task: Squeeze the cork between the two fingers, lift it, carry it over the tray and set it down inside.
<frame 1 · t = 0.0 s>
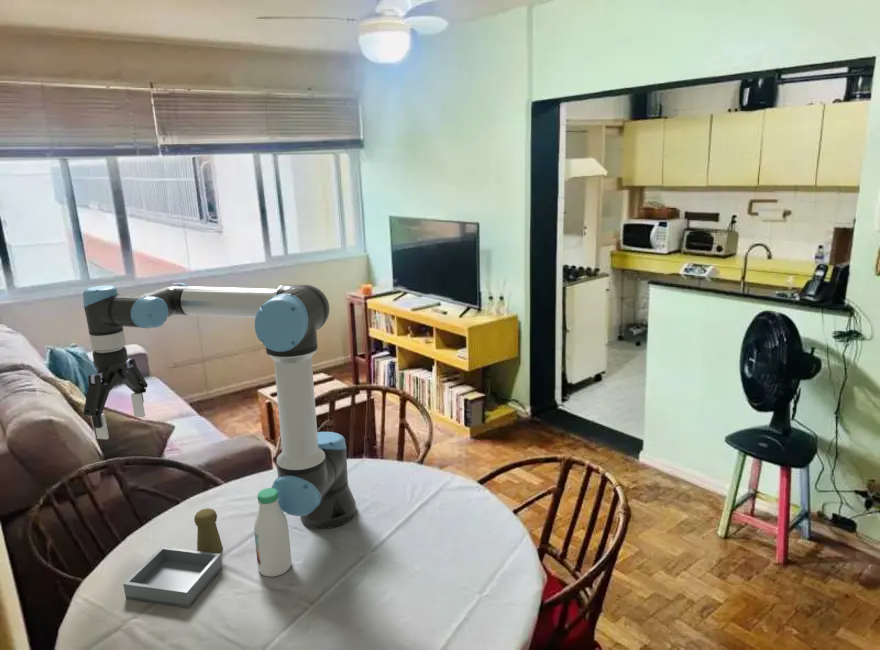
hand: (122, 427, 157), 28 cm above the table, tool pointing down, fingers open, 13 cm apart
cork: (210, 551, 152), on the table
tray: (175, 583, 140), on the table
milk bottle: (275, 567, 145), on the table
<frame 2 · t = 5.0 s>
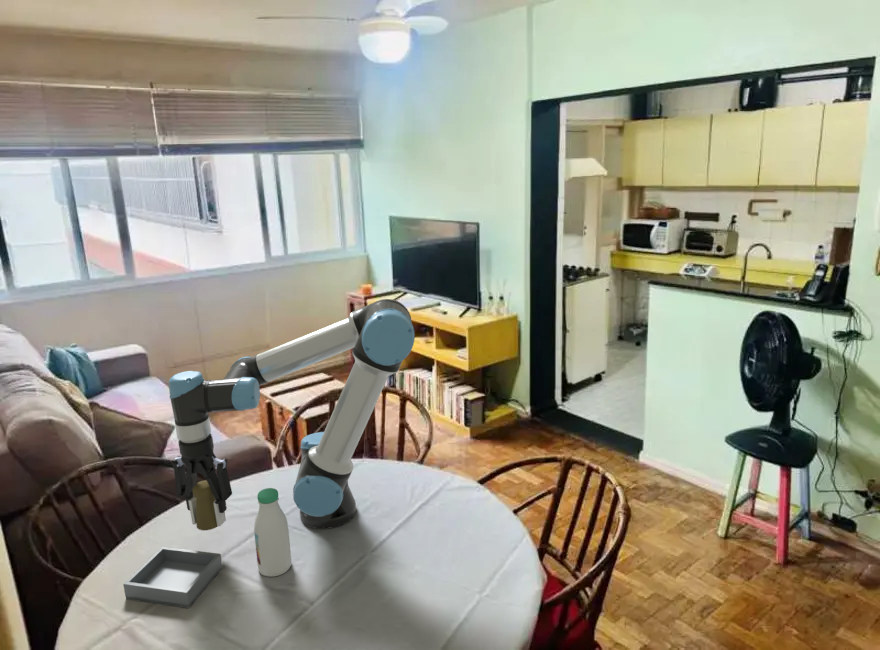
hand: (209, 522, 150), 8 cm above the table, tool pointing down, fingers closed on cork, 6 cm apart
cork: (209, 523, 150), point 8 cm above the table, touching gripper
everything else where it was.
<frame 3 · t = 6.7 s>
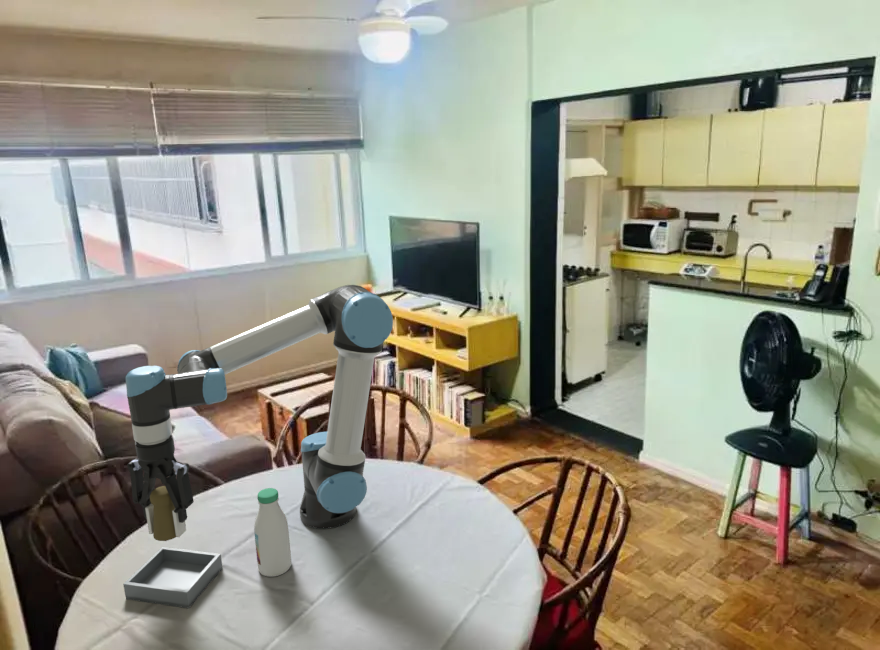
hand: (167, 531, 137), 14 cm above the table, tool pointing down, fingers closed on cork, 6 cm apart
cork: (168, 533, 137), point 13 cm above the table, touching gripper
everything else where it was.
when the fingers open (3 cm above the table, at t = 8.8 s): cork drops 2 cm, resting on tray.
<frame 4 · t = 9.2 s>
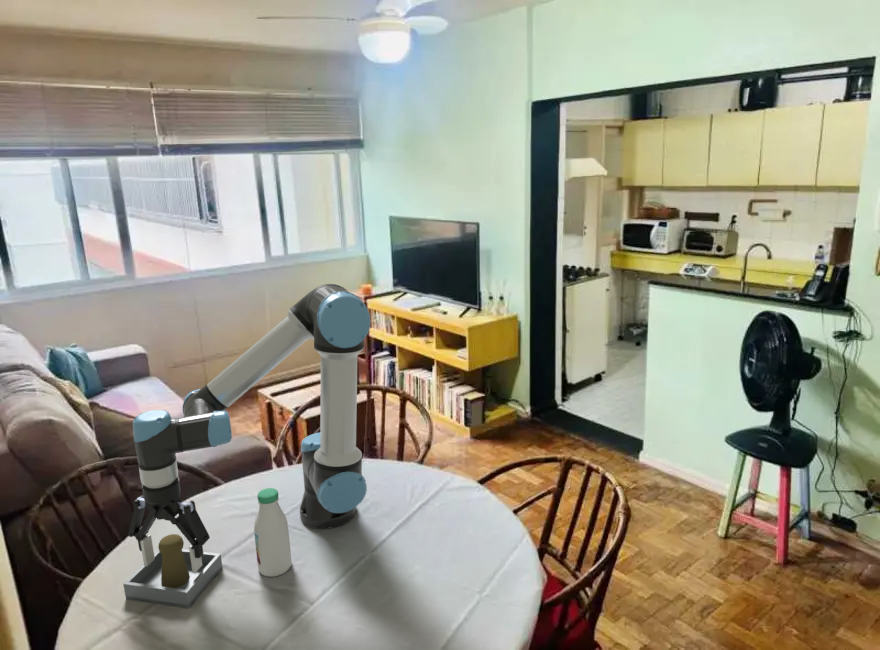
hand: (173, 565, 139), 5 cm above the table, tool pointing down, fingers open, 11 cm apart
cork: (175, 580, 140), point 1 cm above the table, touching tray
everything else where it was.
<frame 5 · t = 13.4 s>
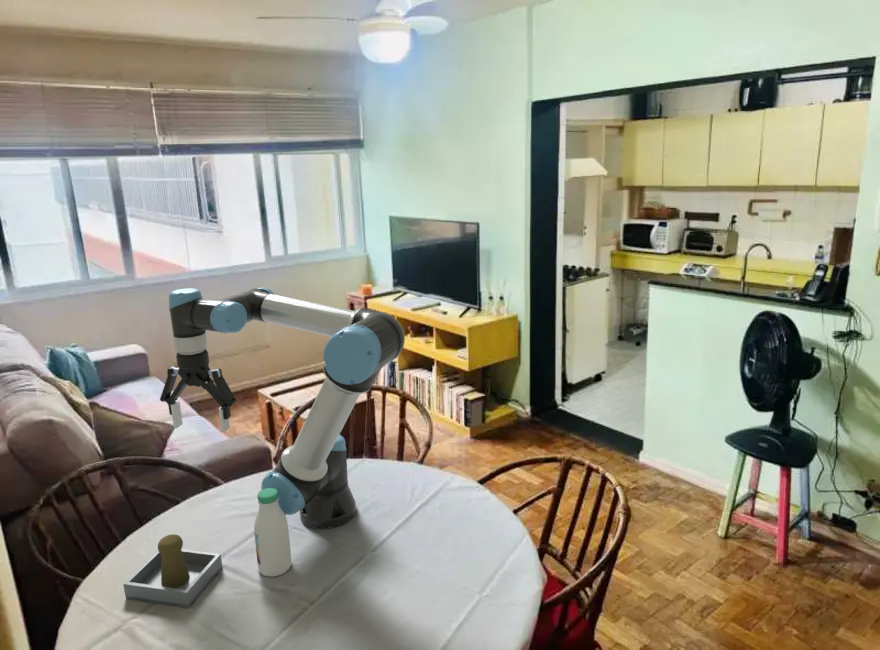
hand: (201, 428, 158), 27 cm above the table, tool pointing down, fingers open, 13 cm apart
nothing on the table moved.
at the end: cork inside the target area on the tray (0.1 cm from its centre), point 0.6 cm above the tray's base; the gripper is holding nothing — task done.
